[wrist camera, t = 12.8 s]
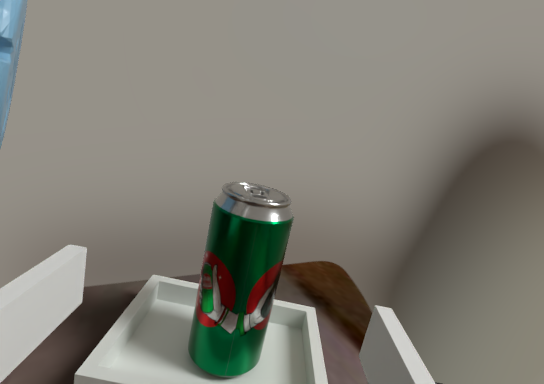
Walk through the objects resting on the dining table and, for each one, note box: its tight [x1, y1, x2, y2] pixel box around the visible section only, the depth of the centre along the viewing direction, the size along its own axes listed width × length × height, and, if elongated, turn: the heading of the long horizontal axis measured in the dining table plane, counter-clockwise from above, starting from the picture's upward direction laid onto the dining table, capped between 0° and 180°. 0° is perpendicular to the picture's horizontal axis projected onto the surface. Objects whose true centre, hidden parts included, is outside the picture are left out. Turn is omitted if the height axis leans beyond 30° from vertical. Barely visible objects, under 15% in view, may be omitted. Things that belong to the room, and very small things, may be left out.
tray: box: [74, 275, 328, 384], centre depth 23 cm, size 14×11×2 cm
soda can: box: [188, 182, 294, 378], centre depth 22 cm, size 5×5×12 cm
